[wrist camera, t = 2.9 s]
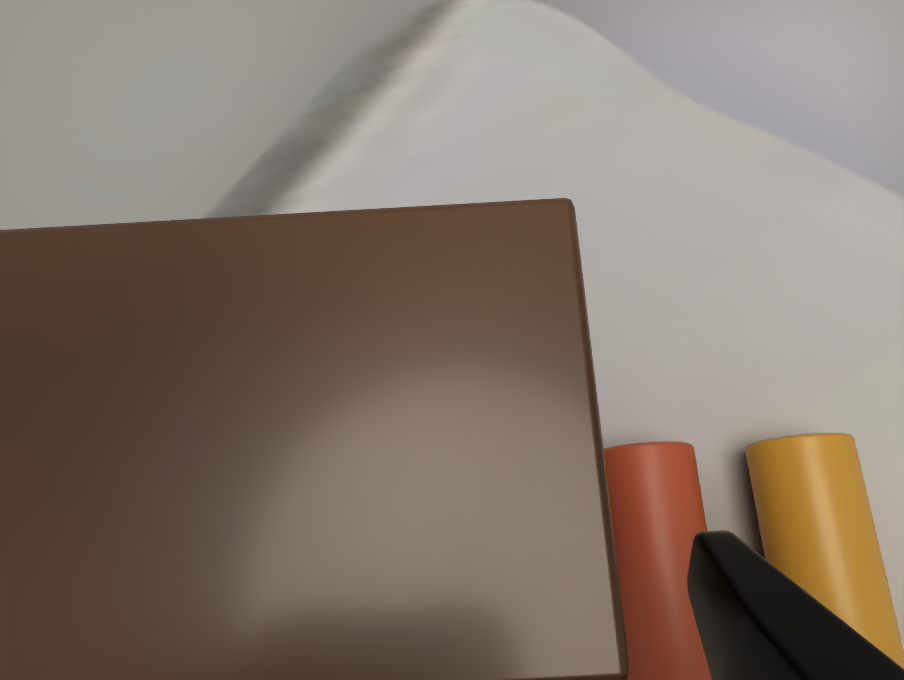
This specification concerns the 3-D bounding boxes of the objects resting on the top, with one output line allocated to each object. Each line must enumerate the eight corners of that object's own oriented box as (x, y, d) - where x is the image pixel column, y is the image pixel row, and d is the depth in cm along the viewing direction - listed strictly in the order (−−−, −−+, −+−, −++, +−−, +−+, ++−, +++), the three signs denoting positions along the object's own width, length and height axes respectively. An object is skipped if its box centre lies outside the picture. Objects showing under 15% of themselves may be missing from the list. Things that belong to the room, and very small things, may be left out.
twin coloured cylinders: (876, 701, 16) (947, 726, 13) (613, 714, 16) (637, 741, 13) (822, 445, 18) (874, 429, 15) (584, 458, 18) (602, 444, 15)
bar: (516, 590, 17) (634, 686, 5) (299, 601, 17) (-111, 724, 5) (504, 430, 18) (575, 193, 6) (302, 441, 18) (-21, 226, 6)
